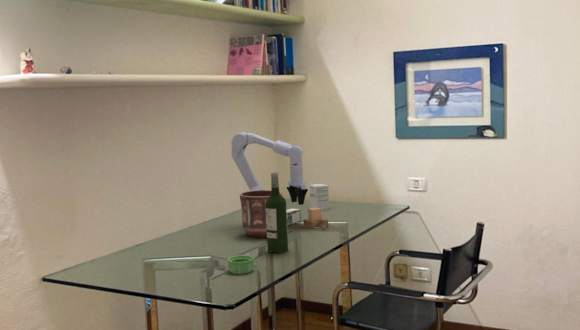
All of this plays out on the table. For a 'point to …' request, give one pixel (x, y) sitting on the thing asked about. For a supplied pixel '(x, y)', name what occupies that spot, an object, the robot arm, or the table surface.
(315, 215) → the terracotta cube
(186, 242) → the table surface
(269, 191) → the pottery
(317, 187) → the supplement box
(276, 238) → the wine bottle
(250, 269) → the ramekin
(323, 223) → the walnut block
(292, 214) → the syrup box
